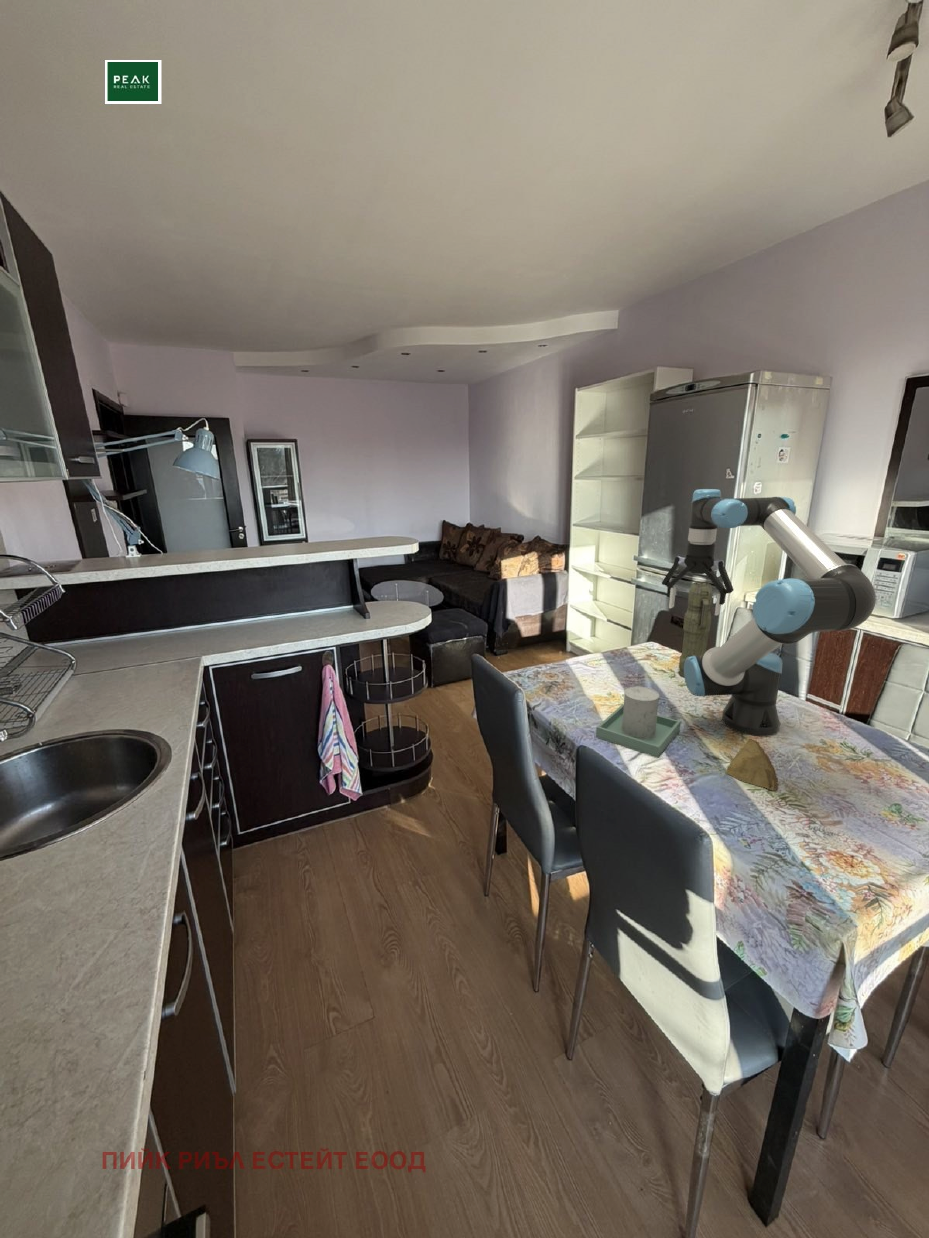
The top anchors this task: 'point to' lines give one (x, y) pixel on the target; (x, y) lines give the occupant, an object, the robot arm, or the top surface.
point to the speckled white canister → (640, 712)
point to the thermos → (696, 622)
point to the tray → (653, 747)
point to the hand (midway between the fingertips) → (693, 610)
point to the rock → (753, 766)
